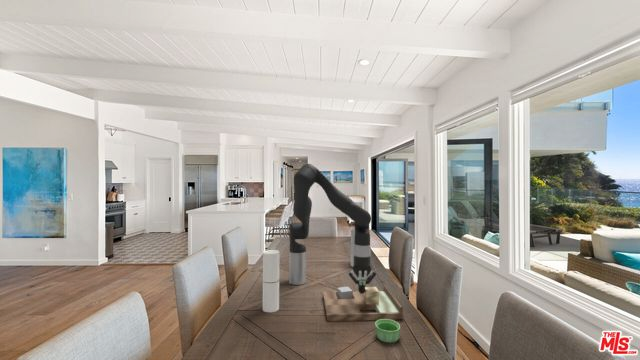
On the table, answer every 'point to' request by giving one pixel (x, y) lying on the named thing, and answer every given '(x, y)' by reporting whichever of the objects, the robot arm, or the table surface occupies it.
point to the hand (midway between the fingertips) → (361, 292)
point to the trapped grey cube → (344, 293)
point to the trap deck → (361, 307)
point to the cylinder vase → (353, 245)
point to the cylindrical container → (270, 280)
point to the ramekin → (387, 330)
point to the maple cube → (371, 295)
